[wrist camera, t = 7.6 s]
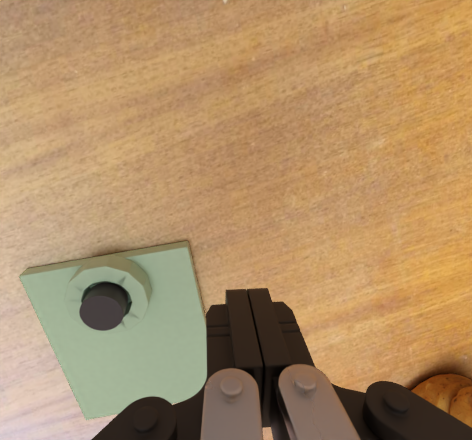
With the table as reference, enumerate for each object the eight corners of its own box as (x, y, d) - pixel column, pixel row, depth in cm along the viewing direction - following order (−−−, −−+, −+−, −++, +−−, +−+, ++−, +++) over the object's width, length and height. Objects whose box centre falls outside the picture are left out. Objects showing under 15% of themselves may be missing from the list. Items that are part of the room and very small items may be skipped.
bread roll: (503, 407, 37) (577, 485, 30) (431, 451, 39) (485, 534, 32) (453, 347, 33) (525, 420, 26) (375, 399, 35) (422, 481, 28)
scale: (24, 263, 26) (2, 284, 23) (187, 235, 26) (185, 252, 23) (89, 408, 32) (78, 439, 29) (220, 384, 32) (222, 411, 29)
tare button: (81, 286, 24) (72, 300, 22) (122, 278, 24) (116, 292, 22) (94, 318, 25) (86, 334, 23) (133, 311, 25) (128, 326, 23)
